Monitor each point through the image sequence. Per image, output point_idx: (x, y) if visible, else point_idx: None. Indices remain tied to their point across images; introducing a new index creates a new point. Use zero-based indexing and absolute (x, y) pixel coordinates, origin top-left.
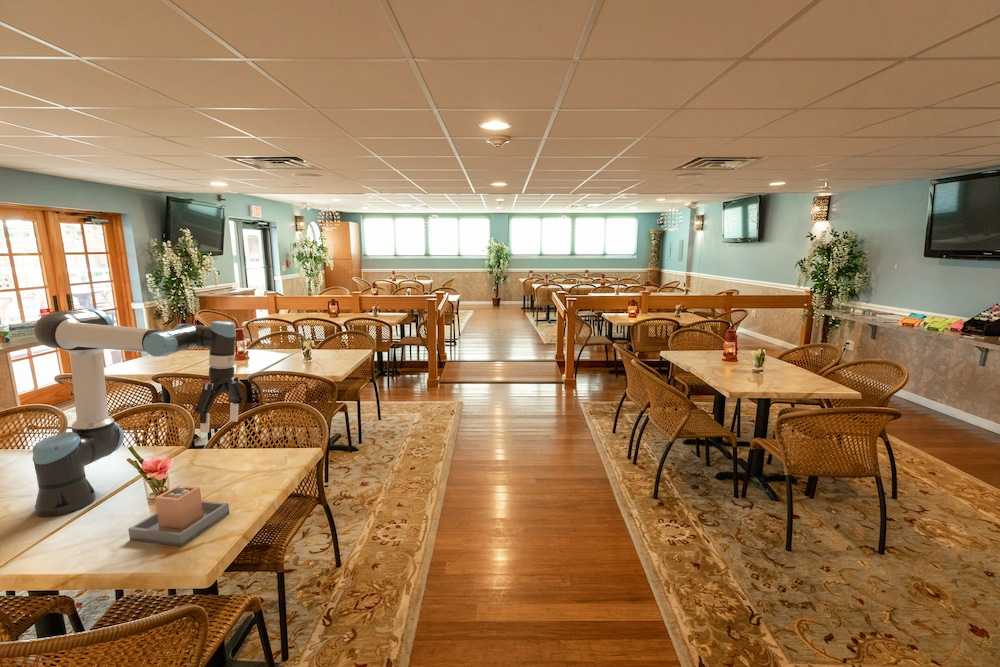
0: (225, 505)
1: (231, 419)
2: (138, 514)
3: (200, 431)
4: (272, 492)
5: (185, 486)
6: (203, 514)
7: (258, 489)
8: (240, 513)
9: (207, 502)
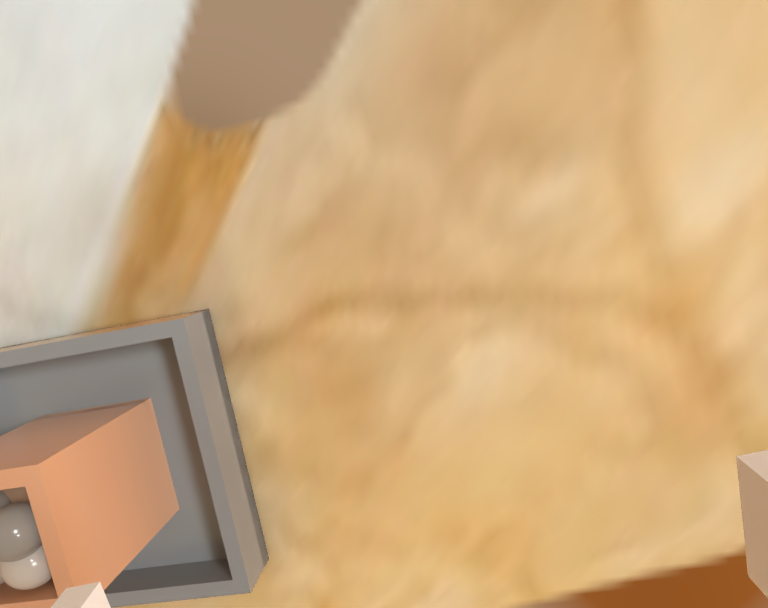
0: (234, 592)
1: (758, 509)
2: (91, 155)
3: (64, 596)
4: (495, 589)
5: (48, 524)
6: (193, 488)
7: (495, 498)
8: (292, 597)
9: (214, 490)
